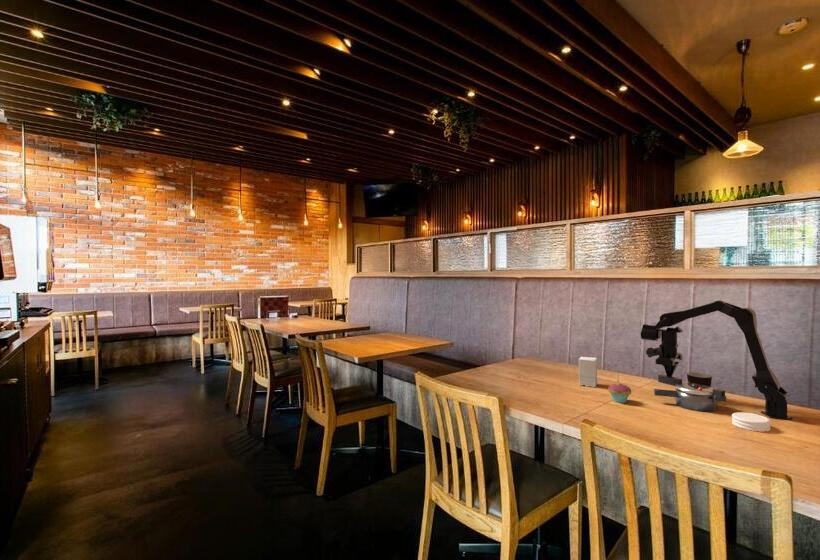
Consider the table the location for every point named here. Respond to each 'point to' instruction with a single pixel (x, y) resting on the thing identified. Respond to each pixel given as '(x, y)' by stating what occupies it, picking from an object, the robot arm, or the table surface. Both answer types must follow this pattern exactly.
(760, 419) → the coaster
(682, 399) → the pot
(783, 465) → the table surface
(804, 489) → the table surface
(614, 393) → the cupcake
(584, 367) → the supplement box
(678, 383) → the lid
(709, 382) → the coffee mug
